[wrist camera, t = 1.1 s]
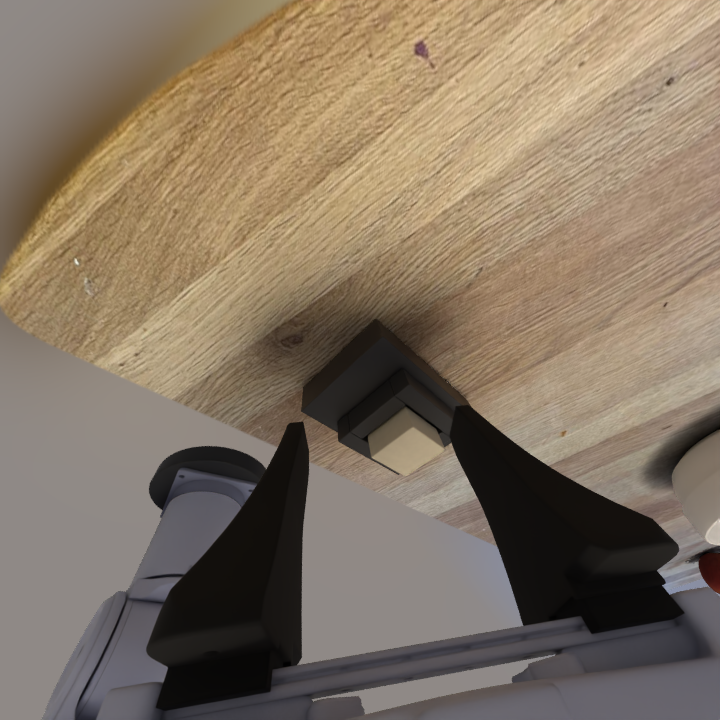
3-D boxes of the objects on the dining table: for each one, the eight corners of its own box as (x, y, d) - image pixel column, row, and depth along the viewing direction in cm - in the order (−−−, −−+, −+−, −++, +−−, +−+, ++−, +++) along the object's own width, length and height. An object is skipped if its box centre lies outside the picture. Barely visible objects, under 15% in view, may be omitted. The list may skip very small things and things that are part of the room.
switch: (436, 428, 20) (446, 450, 18) (399, 454, 21) (405, 477, 20) (404, 405, 18) (412, 426, 17) (366, 434, 20) (370, 458, 18)
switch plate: (467, 400, 25) (493, 439, 21) (400, 448, 27) (412, 491, 24) (375, 317, 19) (388, 351, 16) (302, 387, 22) (299, 430, 18)
